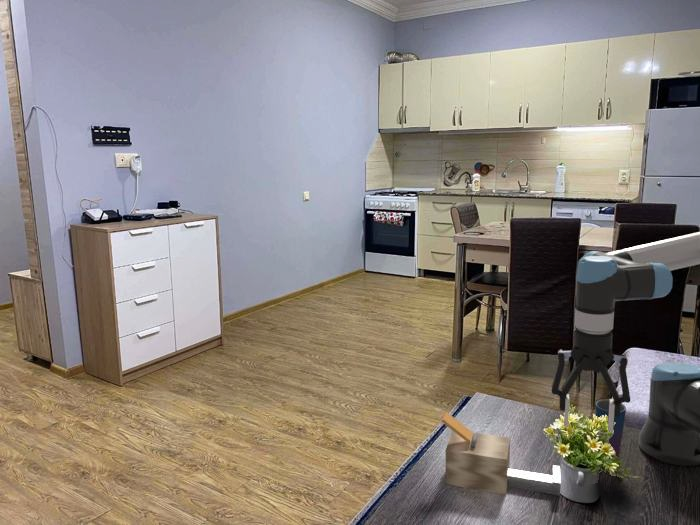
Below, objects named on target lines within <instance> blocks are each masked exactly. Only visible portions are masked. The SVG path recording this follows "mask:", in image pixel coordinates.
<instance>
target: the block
mask: <svg viewBox="0 0 700 525" xmlns="http://www.w3.org/2000/svg"><path fill="white" fill-rule="evenodd" d="M472 432H473V431H472ZM473 434H477V435H478V437H477V441H476V445H475V447H471V441H472V438H473ZM473 434H472V437H471V441H470V442H469V443H468V442H467V441H465V440H464V439H463V438H461V437H460V436H459V435H458V434H456V433H455V432H454V431H453V430H452V431H451V433H450V436H449V440H448V441H447V442H448V443H447V445H446V447H445V485H449V486H454V487H459V488H460V487H461V488H465V489H471V490H477V491H482V492H488V493H492V494H493V493H494V494H498V495H504V496H506V495H507V490H508V486H507V472H508V469H510V463H511V462H510V458H511V456H510V455H511V437H507V436H500V435H492V434H487V433H481V432H479V433H478V432H473Z"/></svg>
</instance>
